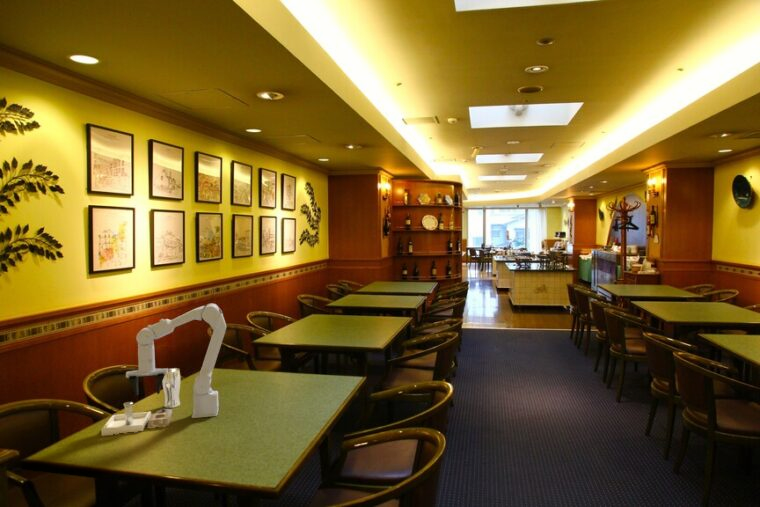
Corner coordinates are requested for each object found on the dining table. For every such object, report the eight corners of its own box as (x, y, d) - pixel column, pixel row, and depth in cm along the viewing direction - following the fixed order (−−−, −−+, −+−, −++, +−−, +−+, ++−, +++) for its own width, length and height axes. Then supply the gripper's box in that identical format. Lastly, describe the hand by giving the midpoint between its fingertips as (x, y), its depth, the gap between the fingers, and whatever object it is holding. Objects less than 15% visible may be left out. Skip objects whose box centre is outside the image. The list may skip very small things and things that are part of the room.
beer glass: (159, 407, 198) (158, 371, 197) (172, 401, 204) (171, 367, 203) (172, 409, 195) (170, 373, 194) (185, 403, 201) (183, 368, 201)
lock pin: (134, 422, 180) (134, 401, 180) (132, 425, 177) (131, 404, 177) (125, 422, 179) (124, 402, 179) (123, 426, 176) (122, 405, 176)
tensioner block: (174, 412, 191) (174, 405, 191) (168, 426, 177) (167, 418, 177) (156, 414, 189) (155, 407, 189) (147, 428, 176) (147, 420, 175)
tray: (151, 417, 186) (151, 411, 186) (142, 431, 173) (142, 424, 173) (113, 421, 183) (112, 415, 183) (101, 435, 170) (101, 429, 170)
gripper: (123, 363, 177) (124, 399, 177) (164, 360, 180) (165, 395, 181) (128, 358, 184) (129, 393, 184) (168, 356, 187) (169, 389, 188)
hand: (147, 394), depth 183 cm, fingers open, 7 cm apart
